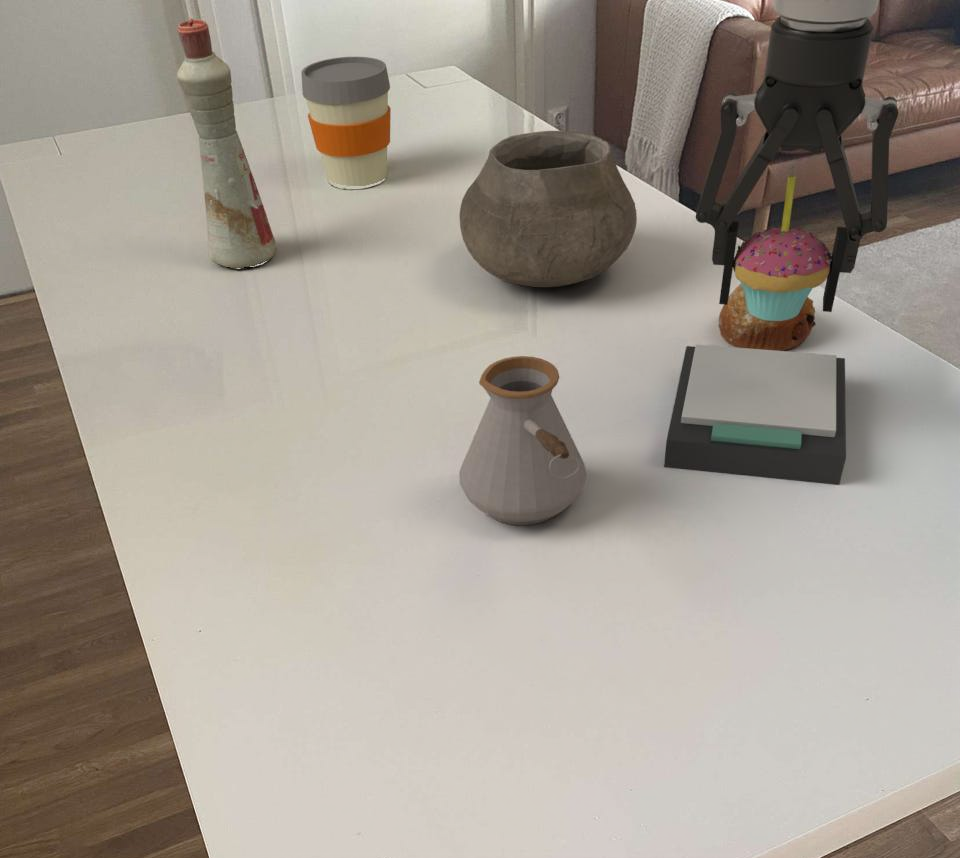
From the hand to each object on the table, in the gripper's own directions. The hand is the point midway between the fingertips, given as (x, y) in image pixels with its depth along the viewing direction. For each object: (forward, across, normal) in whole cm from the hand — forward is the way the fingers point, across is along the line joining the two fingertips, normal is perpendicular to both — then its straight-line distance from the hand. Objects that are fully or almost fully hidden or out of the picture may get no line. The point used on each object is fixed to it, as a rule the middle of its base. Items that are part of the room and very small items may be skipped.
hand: (775, 301), depth 92 cm
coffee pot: (+13, -18, -22) cm, 31 cm away
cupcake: (+1, 0, 0) cm, 1 cm away
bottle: (+13, -68, +28) cm, 75 cm away
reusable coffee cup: (+13, -62, +57) cm, 85 cm away
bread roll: (+13, 0, +18) cm, 22 cm away
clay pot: (+13, -27, +29) cm, 42 cm away
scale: (+12, 0, -1) cm, 12 cm away
